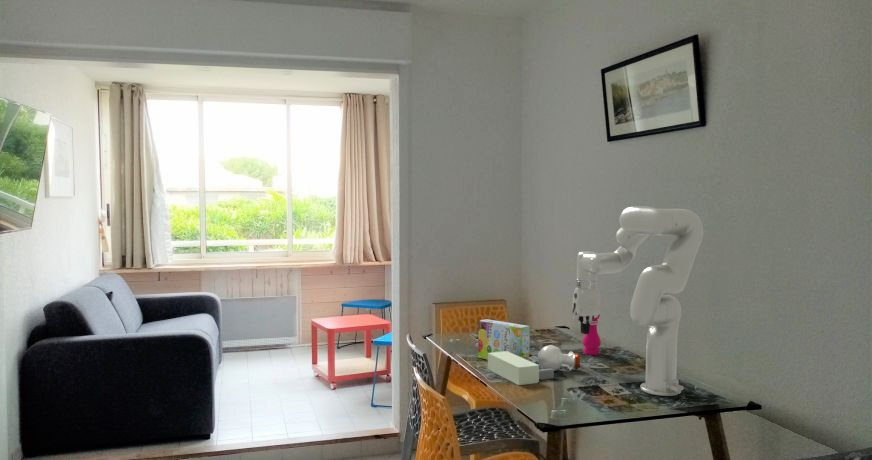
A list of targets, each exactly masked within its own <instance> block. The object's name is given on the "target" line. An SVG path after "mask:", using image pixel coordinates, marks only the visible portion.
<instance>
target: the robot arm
mask: <svg viewBox="0 0 872 460" xmlns="http://www.w3.org/2000/svg"><path fill="white" fill-rule="evenodd" d="M618 220H619V225H620V228H619V229H618V230H617V231H616V234H615V238H616V241H617V243H618V244H619V246H618V248H617V249H616V250H615V251H613V252H600V253H597V252H595V251H589V250H588V251H587V250H586V251H585V250H583V251H579V252H578V253H577V255H576V256H577V258H576V262H577V263H576V279H575V280H576V281H574V282H573V284H574V286H575V288H574V290H573V296H572V305H571V312H572V318H573V319H575V320H578V322H579V323H580V333H581V334H583V335H585V334H589V331H590V323H591V322H592V320H593V319H594V318H596V317H598V315H599V314H600V315H601V312H602V311H601V309H602V308H601V302H602V301H601V292H600V289H599V288H598V275H605V274H608V275H609V274H617V273H620V272H623V270H625V269H626V268H627V267H628V266H629V265H630V264H631V263H632V262H633V261H634V259H635V257H636V254H637V248H638V247H639V246H640V245H641V244H642V243H643V242H644V241H645V240H646V239H647V238H648V237H649V236H657V237H658V236H659V237H660V236H662V237H663V236H664V237H665V236H675V238H674V240H673V241H672V242H671V243H670V245H669V246H668V248H667V250H666V253H665V255H664V259H663V261H662V263H661V264H656V265H650V266H648V267H646V268H645V269H644V270H642V272H641V273H640V275H639V277H638V278H637V279H638V280H637V282H636V286H635V288H634V292H633V295H632V299H631V302H630V306H629V315H630V318H631V320H632V322H633V323H634V324H635V325H637V326H639V327H648V329H647V332H646V343H645V350H646V351H645V379H644V380H645V382H643V383H641V384H640V390H641V391H642V392H643V393H647V394H650V395H653V396H654V395H655V396H659V397H660V396H663V397H675V396H679V395H680V394H681V393H682V391H683V390H684V388H685V387H684V385H680V384H679V380H680V379H677V365H678V364H677V362H678V361H677V360H678V359H677V358H678V335H679V334H678V333H679V327H680V322H681V316H682V306H681V303H680V301H679V300H678V299H677V298H676V297H675V296H673V295H675V294H679V293H682V291H683V290H684V289H685V288H686V285H687V282H688V279H689V276H690V273H691V272H692V271H691V270H692V269H693V265H694V262H695V258H696V255H697V253H698V251H699V249H700V246H701V244H702V240H703V237H704V227H703V222H702V220H701V218H700V217H699V215H697V214H696V212H693V211H692V210H690V209H686V208H676V207H675V208H655V207H653V206H648V205H641V206H640V205H634V206H628V207H625V208H624V209H623V211H622V212H621V213H620V215H619V219H618ZM678 394H679V395H678Z"/></svg>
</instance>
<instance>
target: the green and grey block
mask: <svg viewBox="0 0 872 460" xmlns="http://www.w3.org/2000/svg"><path fill="white" fill-rule="evenodd" d="M487 370H489V371H490V372H493V374H496V375H497V376H500V377H502V378H504V379H506V380H508V381H509V382H511V383H513V384H516V385H517V386H522V385H533V384H539V383H540V380H539V379H541V380H549V379H554V377H555V376H554V375H555V371H554V369H552V368H551V369H542V368H541V369H540V364H538V363H535V362H533V360H532V359H531V358H529V359H524V358H521V357H519V356H517V355H515V354H512V353H510V352H508V351H503V352H493V353H488V360H487ZM538 382H539V383H538Z"/></svg>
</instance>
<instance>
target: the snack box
mask: <svg viewBox="0 0 872 460" xmlns="http://www.w3.org/2000/svg"><path fill="white" fill-rule="evenodd" d="M530 328H531V326H530V325H526V324H524V325H523V324H518V323H513V322H507V321H501V320H500V321H499V320H493V319H480V320H478V345H477V347H478V351H477V352H478V353H477V354H478V355H477V358H479V359H483V360H487V361H488V353H493V352H503V351H508V352H510V353H512V354H515V355H517V356H519V357H521V358H524V359H530V340H531V339H530V336H531V335H530V334H531V333H530V332H531V329H530Z"/></svg>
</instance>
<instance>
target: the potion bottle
mask: <svg viewBox="0 0 872 460" xmlns="http://www.w3.org/2000/svg"><path fill="white" fill-rule="evenodd" d="M537 364H538V365H539V367H541V370H542V369H551V368H552V369H554V372H555V371H559V369H560V368H561V367H567V368H568V369H569V371H572V369H574V370H575V371H577V370H578V369H579V368H580V365H581V355H580V354H579V353H577V352H576V353H574V352H573V351H572V350H570V351H569V352H568V353H563V352H562V350H561V349H560V347H558V346H555V345H552V344H549V345H545V346H543V347H542V348H541V349H540V350H539V352H538V353H537Z"/></svg>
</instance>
